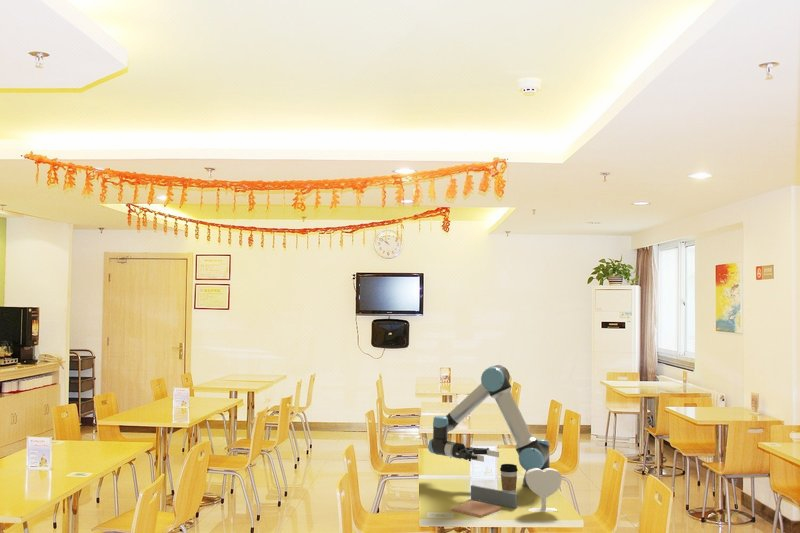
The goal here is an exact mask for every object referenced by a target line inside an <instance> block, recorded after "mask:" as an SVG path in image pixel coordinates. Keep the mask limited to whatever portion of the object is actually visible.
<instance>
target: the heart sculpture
mask: <svg viewBox="0 0 800 533" xmlns="http://www.w3.org/2000/svg"><path fill="white" fill-rule="evenodd" d="M525 472H526V471H525ZM524 475H525V474H524ZM525 479H526V483H527V485H528V486H529V487H528V488H529V489H530V490H531V492H533V493H534V494H535V495H537V496H538V497H540V500H541V501H540V506H541V507H534V508H528V511H529V512H532V513H547V512H550V513H554V512H553V511H557V508H556V509H555V508H554V507H547V498H549V497H550V496H552V495H554V494H555V493H556V492H557V491H558V490H559V488H560V487H561V484H562V474H561V472H559V471H558V470H557V469H554V468H551V467H550V468H545V469H544V470H541V469H539V468H533V469H530V470H528V471H527V472H526V475H525Z"/></svg>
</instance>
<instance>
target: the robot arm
mask: <svg viewBox="0 0 800 533" xmlns="http://www.w3.org/2000/svg"><path fill="white" fill-rule="evenodd" d="M510 378H511V377H510V372H509V370H508V369H507V368H506V367H505V366H503V365H501V364H498V365H493V366H489V367H487V368H485V369H484V371H483V372H482V373H481V376H480V384H478V386H476V387H475V389H473V390H472V391H471V392H470V393H469V394H468V395H467V396H466V397H465V398H464V399H463V400H461V402H459V404H457V405H456V406H455V407H454V408H453V409H452V410H450V412H449V413H448V414H446V415H437V416H433V420H432V422H433V423H432V427H433V428H432V429H433V431H432V432H433V433H432V438H431V439H429V442H428V445H427V447H428V448H427V449H428V452H429V453H430V454H433V455H434V454H435V455H437V456H445V457H449V458H450V459H452V458H454V459H460V460H462V459H463V460H465V461H467V460H468V462H471V461H477V462H478V461H479V462H482V463H483V462H485V456H486V455H487V456H489V457H495V458H499V457H500V451H498V450H492V449H490V448H489V447H485V448H484V447H473V446H471V447H466V445H465V444H464V443H461V442H455V441H450V440H448V438H449V437H448V436H449V434H448V433H449V432H451V431H453V430H455V429H456V427H457V426H458V425H460V423H461V422H462V421H463V420H464V419H465V418H467V417H468V416H469V415H471V413H472V412H473V411H474V410H476V408H478V407H479V406H480V405H481V404H482V403H484V402H485V400H486V399H488V398H489V397H490V398H493V399H494V400H495V401H496V404H497V407H498V409H499V410H500V412H501V414H502V417H503V419H504V421H505V423H506V425H507V427H508V429H509V430H510V433H511V435H512V437H513V439H514V442H515V443H516V444H515V448H514V449H515V450H516V453H517V456H518V462H519V465H520V466H521V467H522V468H523V469H524V470H525V472H524V475H523V478H522V485H523V486H524V487H526V488H529V486H528V485H527V483H526V479H525V475H526V472H527V471H528V470H530V469H533V468H539V469H541V470H544V469H545V468H551V467H550V441H549V440H547V439H541V438H537V437H534V436H533V435H532V432H531V431H530V429H529V427H528V425H527V423H526V421H525V419H524V417H523V415H522V412H521V410H520V409H519V406H518V405H517V402H516V400H515V399H514V396H513V394H512V391H511V390H512V385H511V383H510ZM484 455H485V456H484Z"/></svg>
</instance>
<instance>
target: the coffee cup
mask: <svg viewBox="0 0 800 533" xmlns="http://www.w3.org/2000/svg"><path fill="white" fill-rule="evenodd" d="M499 471H500V480H501V491H505V492H510V493H515V494H517V493H516V491H517V483H518V482H517V479H518V475H517V474H518V466H517V464H514V463H503V464H500V468H499Z"/></svg>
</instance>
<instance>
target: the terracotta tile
mask: <svg viewBox="0 0 800 533" xmlns="http://www.w3.org/2000/svg"><path fill="white" fill-rule="evenodd" d="M450 510H451V512H452V511H453V512H457V513H461V514H466V515H470V516H474V517H478V518H483V517H486V516H488V515H490V514H493V513H495V512H497V511H501V510H502V506H501V505H496V504H491V503H487V502H482V501H478V500H476V501H475V500H473V499H471V500H468V501H466V502H464V503H461V504H458V505H455V506H453V507H450Z"/></svg>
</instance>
